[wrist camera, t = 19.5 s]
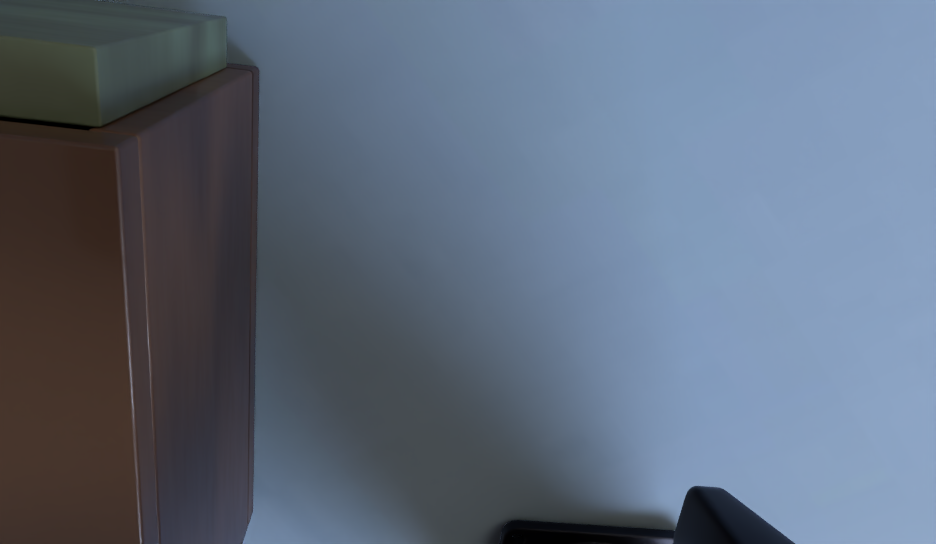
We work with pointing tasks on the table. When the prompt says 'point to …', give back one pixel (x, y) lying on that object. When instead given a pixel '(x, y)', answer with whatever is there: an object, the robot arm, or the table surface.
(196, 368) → the cabinet
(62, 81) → the drawer
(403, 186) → the table surface
